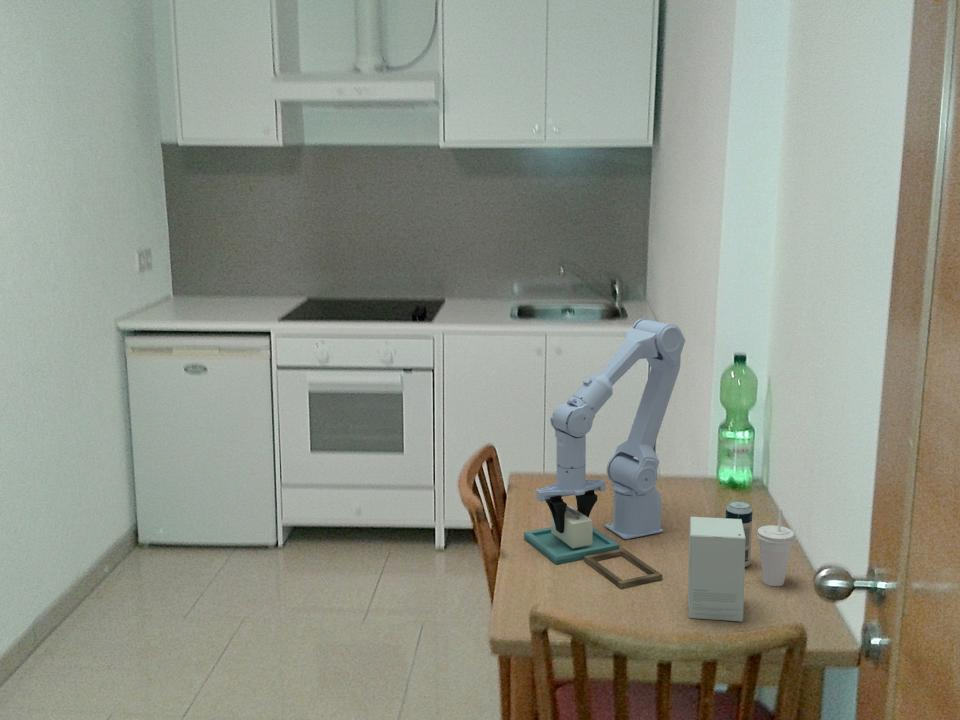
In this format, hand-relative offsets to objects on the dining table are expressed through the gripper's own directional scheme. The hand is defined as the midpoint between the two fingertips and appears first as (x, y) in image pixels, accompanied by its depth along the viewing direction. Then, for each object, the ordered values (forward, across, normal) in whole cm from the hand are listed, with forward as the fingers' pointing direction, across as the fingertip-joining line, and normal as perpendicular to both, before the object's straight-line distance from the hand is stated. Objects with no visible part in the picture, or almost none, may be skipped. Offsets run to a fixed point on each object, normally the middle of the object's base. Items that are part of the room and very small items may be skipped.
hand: (570, 529), depth 187 cm
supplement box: (+4, +9, -34) cm, 36 cm away
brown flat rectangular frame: (+3, +3, -14) cm, 15 cm away
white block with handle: (+2, 0, 0) cm, 2 cm away
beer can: (+4, +24, -22) cm, 32 cm away
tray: (+3, 0, 0) cm, 3 cm away
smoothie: (+4, +25, -30) cm, 40 cm away
